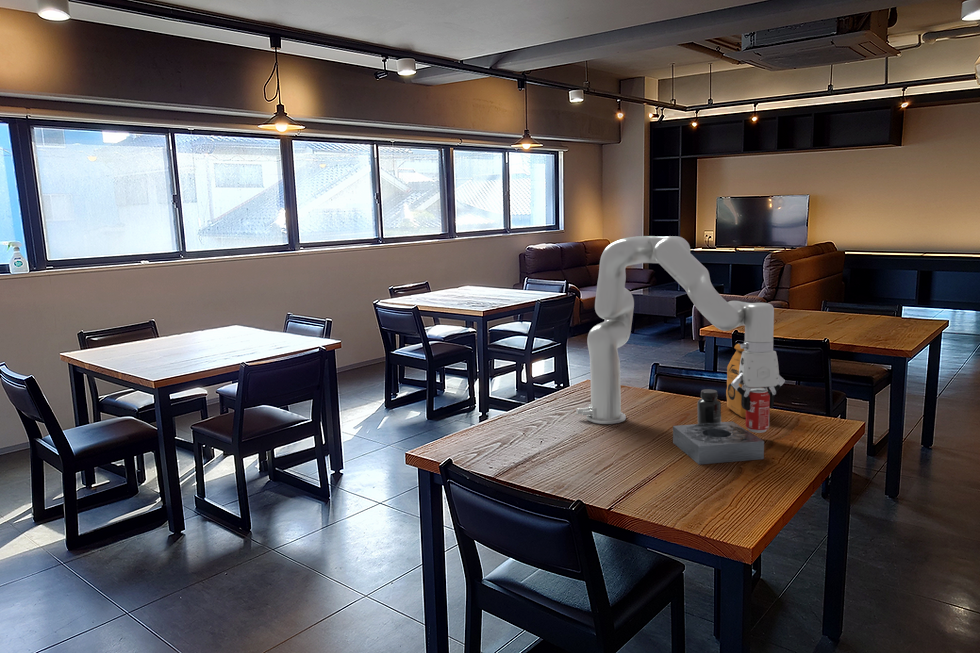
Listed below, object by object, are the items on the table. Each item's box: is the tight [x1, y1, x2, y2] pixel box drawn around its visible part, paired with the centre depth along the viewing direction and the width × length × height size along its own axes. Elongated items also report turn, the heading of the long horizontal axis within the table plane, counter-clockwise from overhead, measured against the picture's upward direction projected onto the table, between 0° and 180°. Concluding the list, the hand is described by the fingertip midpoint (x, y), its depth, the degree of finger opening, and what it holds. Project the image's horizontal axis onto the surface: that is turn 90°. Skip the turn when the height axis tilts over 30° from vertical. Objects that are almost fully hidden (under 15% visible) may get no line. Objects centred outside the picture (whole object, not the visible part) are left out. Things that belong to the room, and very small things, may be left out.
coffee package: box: [725, 343, 746, 419], centre depth 221 cm, size 10×12×22 cm
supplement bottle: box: [697, 388, 722, 424], centre depth 207 cm, size 7×7×12 cm
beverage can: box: [745, 387, 771, 434], centre depth 196 cm, size 6×6×12 cm
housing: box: [672, 420, 765, 466], centre depth 189 cm, size 18×18×5 cm
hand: (757, 407), depth 196 cm, fingers closed on beverage can, 6 cm apart
